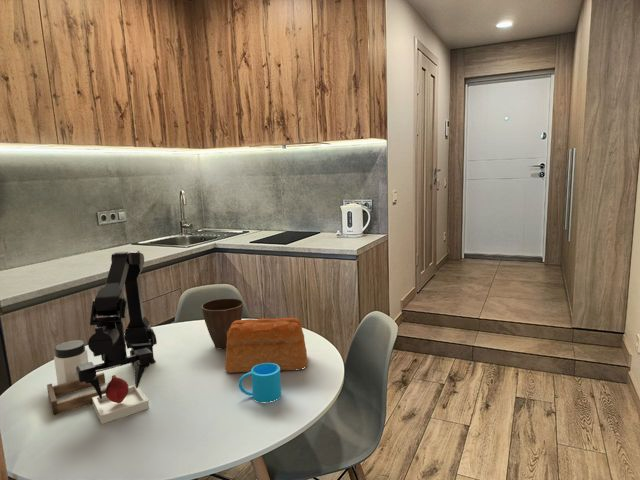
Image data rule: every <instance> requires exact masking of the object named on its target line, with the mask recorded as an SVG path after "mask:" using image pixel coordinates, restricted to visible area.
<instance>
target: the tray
mask: <svg viewBox="0 0 640 480" xmlns="http://www.w3.org/2000/svg"><path fill="white" fill-rule="evenodd" d="M139 386H140V385H139ZM139 386H138V388H136V387H135V384H133V385H128V388H129V389H128V394H127V396H126V397H125V398H124V400H123V401H122V402H121V403H116V402H112V401H111V400H109V399H108V398H107V396H106V393H105V394H102V399H100V397H99V396H95V397H92V401H93V404H92V407H93V409H94V410H95V413H96V416H97V417H98V420H99V422H100V425H103V424H106V423H109V422H112V421H115V420H117V419H121V418H124V417H127V416H129V415H132V414H136V413H139V412H141V411H144V410H147V409H150V405H149V403H150V402H149V399H148V397H147V396H146V395H145V393H144V392H143V391H142V390H141V388H140V387H139Z"/></svg>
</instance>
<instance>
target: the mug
mask: <svg viewBox="0 0 640 480" xmlns="http://www.w3.org/2000/svg"><path fill="white" fill-rule="evenodd" d="M248 376H251V389H252V391H248V390H246V389H245V388H244V387H243V380H245V378H247V377H248ZM281 383H282V381H281V371H280V367H279V366H278V365H277V364H274V363H262V364H258V365H256V366H254V367H253V368H252V369H251V372H245V374H243V375H242V376H241V377H240V378H239V380H238V384H237V385H238V388H239V390H240V392H242V393H243V394H245V395H247V396H250V397H251V396H252V400H256V401H258V402H270V401H274V400H276V399H278V398H279V397H280V396H282V385H281ZM280 398H281V397H280ZM280 398H279V399H280ZM279 399H278V400H279ZM256 401H255V402H256ZM276 401H277V400H276ZM258 402H257V403H258ZM274 402H275V401H274Z"/></svg>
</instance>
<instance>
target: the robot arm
mask: <svg viewBox="0 0 640 480" xmlns="http://www.w3.org/2000/svg"><path fill="white" fill-rule="evenodd" d="M144 265H145V255H144V253H142V252H140V250H128V251H127V250H126V251H118V252H116V251H115V252H114V253H111V264H110V267H109V270H108V273H107V278H106V281H105V285H104V286H103V287H102V288H101V289H99V290H98V291H97V292H96V295H95V297H94V299H93V301H92V303H91V312H90V318H89V319H90V321H89V325H90V326H96V327H95V328H94V332H93V334H92V335H91V336H90V337H89V339H88V342H87V347H88V349H89V351H91V352H92V354H93V357H94V358H95V357H100V358H101V360H102V363H98V364H94V362H93V361H88V363H84V364H80V365H78V366H77V367H76V374H77V377H78V379H79V382H84V381H85V383H91V385H92V386H93V387H92V388H94V391H96V392H97V393H98V395H99V397H100V399H102V393H101V389H102V388H101V386H100V385H101V384H100V385H99V381H98V378H97V376H96V375H97V373H99V372H103V371H107V370H110V369H114V368H118V367H121V366H125V365H129V364H132V365H133V366H134V367H133V368H134V385H135V387H136V388H138V386H140V383H141V379H142V377H143V374H144V373H145V370H147V369H146V368H149V366H150V365H151V364H154V363H156V360H155V356H154V346H155V345H157V344H158V342H157V336H156V333H155V332H154V329H153V328H152V327H151V326H152V325H151V322H150V321H149V319H148V318H147V317H146V316H145V312H144V303H143V297H142V290H141V289H142V288H141V280H140V275H141V272H142V271H143V269H144ZM124 289H125V295H124ZM127 312H128V318H129V322H128V324H127V326H126V328H124V325H125V324H124V320H125V319H126V318H127ZM128 349H131V350H130V351H129V356H128V355H127V350H128Z"/></svg>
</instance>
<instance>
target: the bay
mask: <svg viewBox="0 0 640 480" xmlns="http://www.w3.org/2000/svg"><path fill="white" fill-rule="evenodd" d="M96 376H97V378H98V381H99V385H104V384H106V377H105V376H106V375H105V373H104V372H101V373H96ZM46 388H47V396H48V400H49V404H50V408H51V412H52V415H53V416H57V415H61V414H63V413H68V412H71V411H73V410H76V409H77V410H78V409H81V408H84V407H87V406H90V405H93V401H92V397H95V396H99V395H98V393H97V392H96V390H94V391H90V392H87V393H84V394H81V395H76V396H73V397H70V398H67V399H63V400H59V401H58V400H57V398H58V397H62V396H65V395H69V394H73V393H76V392H79V391H83V390H86V389H90V388H94V387H93V386H92V385H91V383H85V381H84V382H79V379H78V380H75V381H71V382H67V383H64V384H60V385H58V384H57V385H53V384H52V383H48V384H46ZM100 389H101V393H102V394H105V393H106V387H104V388H100Z"/></svg>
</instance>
